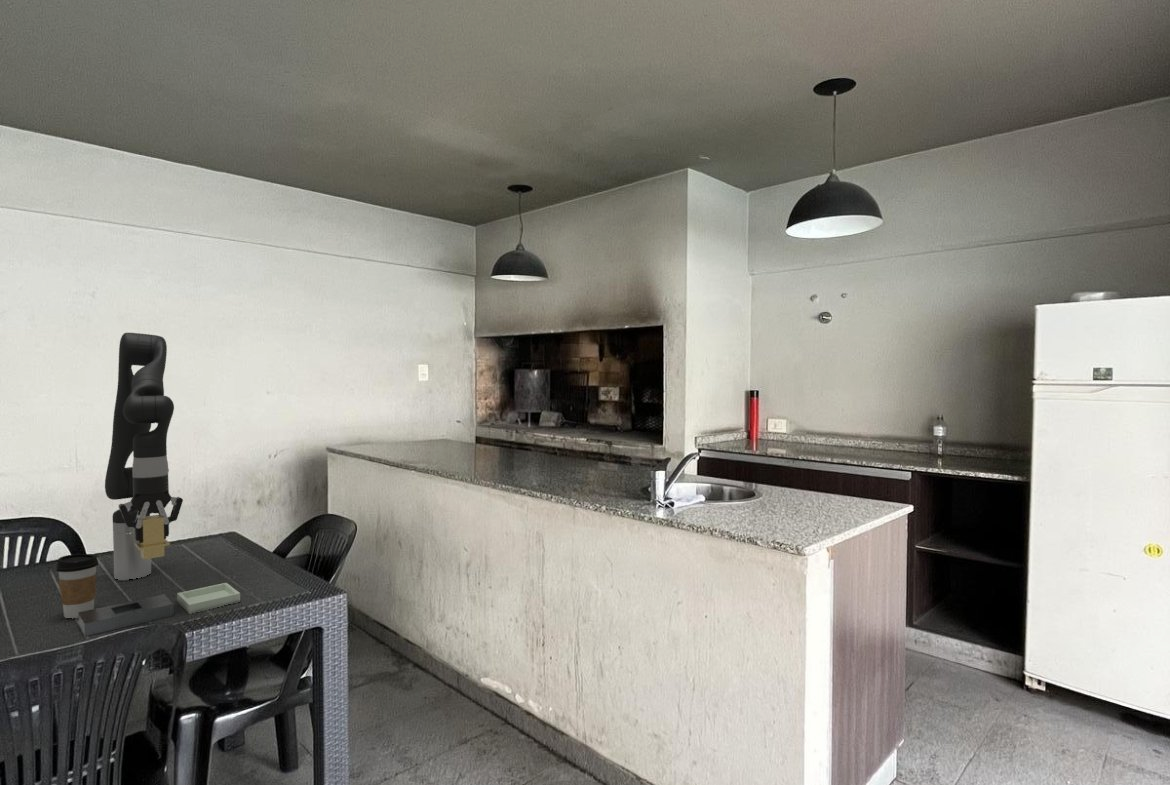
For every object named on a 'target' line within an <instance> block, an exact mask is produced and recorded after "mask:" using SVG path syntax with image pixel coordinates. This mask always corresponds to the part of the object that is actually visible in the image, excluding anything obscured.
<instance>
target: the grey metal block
mask: <svg viewBox="0 0 1170 785" xmlns="http://www.w3.org/2000/svg"><path fill="white" fill-rule="evenodd" d="M174 605H175V604H174V603H173V602H172V601H171V600H170V599H169V598H168V596H167V595H166V594H165V593H164V594H163V593H162V594H159V595H155V596H149V597H145V598H144V597H143V598H140V599H136V600H130V601H126V602H122V603H116V604H112V605H107V606H102V607H97V608H94V609H92V610H87V611H83V612H78V618H77V619H78V626H79V628H80V630H81V632H82V634H83V636H84V637H89V636H92V635H96V634H102V633H106V632H110V631H113V630H118V629H123V628H127V627H131V626H135V625H140V624H142V623H148V622H152V621H156V620H161V619H165V618H168V617H173V616H175V613H174V609H175V608H174Z"/></svg>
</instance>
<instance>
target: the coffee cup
mask: <svg viewBox="0 0 1170 785" xmlns="http://www.w3.org/2000/svg"><path fill="white" fill-rule="evenodd" d="M98 565H99V560H98V558H97V555H96V554H90V553H75V554H74V553H73V554H68V555H63V556H60V557H59V558H58V560H57V564H56V571H57V572H58V585H59V590H60V591H59V592H60V597H61V603H62V604H61V605H62V609H63V618H64V617H65V618H64V619H66V618H72V619H71V620H74V619H73V618H76V619H78V612H83V611H87V610H92V609H95V597H96V588H97V587H96V586H97V577H98V576H97V574H98V572H97V566H98Z"/></svg>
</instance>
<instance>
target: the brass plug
mask: <svg viewBox="0 0 1170 785" xmlns="http://www.w3.org/2000/svg"><path fill="white" fill-rule="evenodd" d="M142 536H143V542H142V543H139V542H136V543H135V546H136V547H137V548H138V549H139V550H141V557H142V558H143V559H144V560H145V559H150V558H151V559H155V558H161V557H165V555H166V554H165V547H166V546H171V543H170V541H168V540H167V538H166V539H164V517H161V516H159V514H154V515H150V516H145V519H143V520H142Z"/></svg>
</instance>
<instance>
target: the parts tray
mask: <svg viewBox="0 0 1170 785" xmlns="http://www.w3.org/2000/svg"><path fill="white" fill-rule="evenodd" d="M176 595H177V596H176V597H177V598H176V599H177V600H176V601H177V604H178V605H180V607H181V606H182V607H183V608H184V609H185V610H186V611H187V612H188V613H189V615H192V613H193V614H196V612H198V613H202V612H205V610H206V611H209V609H210V610H214V609H218V608H217V607H219V608H222V607H221V606H223V607H225V606H224V605H227V606H229V605H228V604H231V605H234V604H233V603H235V604H239V603H238V602H240V603H241V592H239V591H238V590H236V589H235V588H233V587H232V586H231V585H230V584H229V583H227V582H223V583H219V584H213V585H209V586H204V587H200V588H199V587H198V588H195V589H191V590H187V591H186V590H185V591H181V592H177V594H176ZM182 607H181V608H182ZM183 608H182V609H183ZM213 608H214V609H213ZM184 609H183V610H184ZM201 611H202V612H201ZM187 612H186V613H187ZM188 613H187V614H188Z"/></svg>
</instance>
